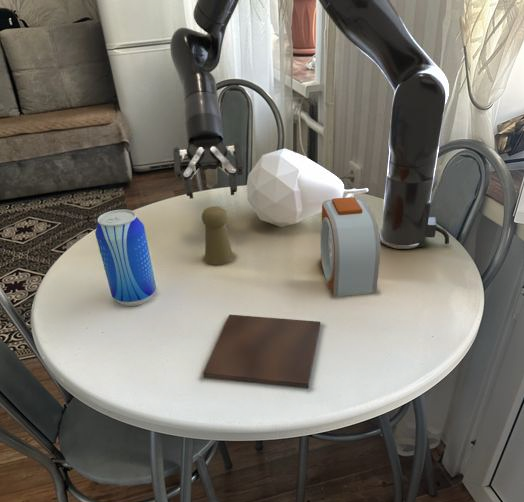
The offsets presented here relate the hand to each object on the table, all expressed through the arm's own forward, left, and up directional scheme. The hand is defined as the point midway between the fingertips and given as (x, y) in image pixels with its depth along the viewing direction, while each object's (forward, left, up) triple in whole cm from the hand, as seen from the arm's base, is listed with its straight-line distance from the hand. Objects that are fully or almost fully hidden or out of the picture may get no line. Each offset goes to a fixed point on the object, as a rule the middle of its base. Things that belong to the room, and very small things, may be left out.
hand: (212, 195), depth 103 cm
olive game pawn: (-1, +4, -12) cm, 13 cm away
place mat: (-17, +34, -12) cm, 40 cm away
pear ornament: (-17, -17, -12) cm, 27 cm away
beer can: (+11, +21, -12) cm, 27 cm away
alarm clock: (-28, +8, -12) cm, 32 cm away
